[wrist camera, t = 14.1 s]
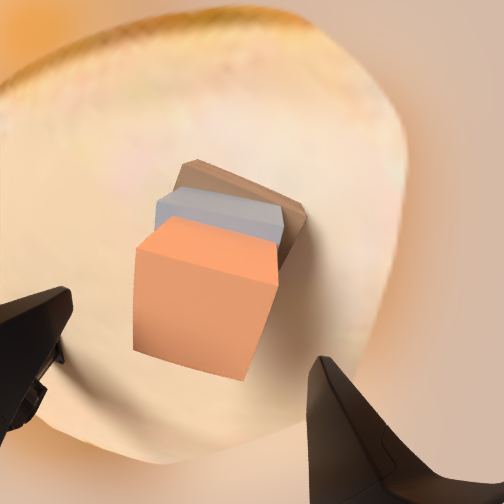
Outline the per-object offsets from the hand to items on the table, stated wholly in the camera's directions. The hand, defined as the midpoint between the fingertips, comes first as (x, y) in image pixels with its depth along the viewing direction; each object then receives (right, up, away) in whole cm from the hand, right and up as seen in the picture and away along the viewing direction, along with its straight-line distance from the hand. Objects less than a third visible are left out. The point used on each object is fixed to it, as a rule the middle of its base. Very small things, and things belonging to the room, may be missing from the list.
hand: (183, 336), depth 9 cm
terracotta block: (0, +2, +5) cm, 5 cm away
